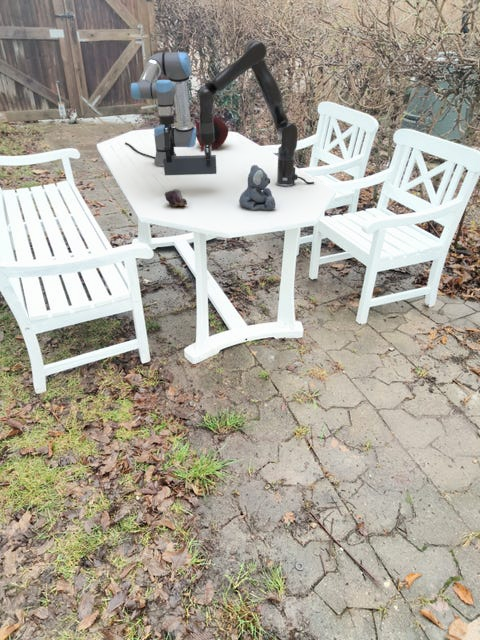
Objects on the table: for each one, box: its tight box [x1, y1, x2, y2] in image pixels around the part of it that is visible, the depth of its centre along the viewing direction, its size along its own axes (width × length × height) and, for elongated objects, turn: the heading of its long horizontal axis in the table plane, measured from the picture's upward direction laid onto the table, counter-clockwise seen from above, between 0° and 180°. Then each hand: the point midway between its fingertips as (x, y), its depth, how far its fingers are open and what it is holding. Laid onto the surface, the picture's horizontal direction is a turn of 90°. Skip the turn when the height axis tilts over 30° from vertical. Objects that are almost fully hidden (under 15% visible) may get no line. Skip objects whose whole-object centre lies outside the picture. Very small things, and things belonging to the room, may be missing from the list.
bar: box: [163, 154, 217, 176], centre depth 238 cm, size 27×5×8 cm, turn 92°
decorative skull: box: [193, 116, 229, 152], centre depth 324 cm, size 21×24×25 cm
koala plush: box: [238, 164, 276, 211], centre depth 224 cm, size 17×18×20 cm
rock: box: [164, 188, 188, 207], centre depth 228 cm, size 12×9×10 cm
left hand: (170, 159), depth 236 cm, fingers open, 13 cm apart
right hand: (208, 165), depth 239 cm, fingers closed on bar, 5 cm apart
